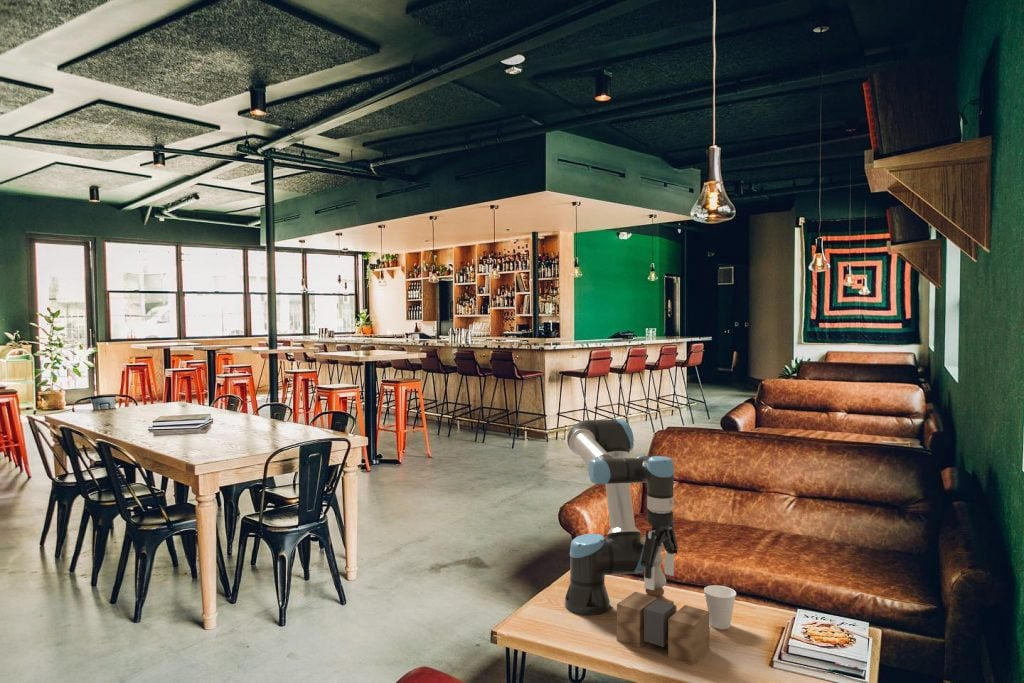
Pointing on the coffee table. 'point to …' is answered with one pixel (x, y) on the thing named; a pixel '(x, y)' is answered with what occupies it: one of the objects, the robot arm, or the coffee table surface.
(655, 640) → the slotted gray cube
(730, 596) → the cup
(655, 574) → the candle holder
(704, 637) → the wooden block dumbbell
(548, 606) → the coffee table surface
